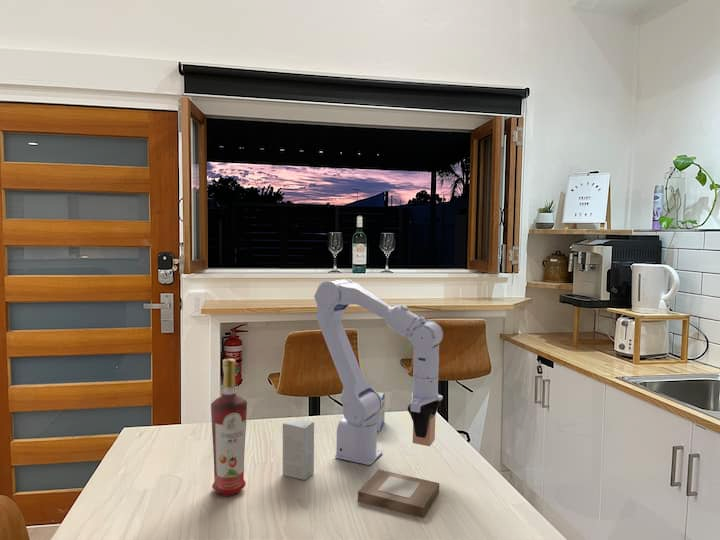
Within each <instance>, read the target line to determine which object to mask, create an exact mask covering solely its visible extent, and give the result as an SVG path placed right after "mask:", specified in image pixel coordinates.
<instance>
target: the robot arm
mask: <svg viewBox="0 0 720 540" xmlns="http://www.w3.org/2000/svg"><path fill="white" fill-rule="evenodd" d="M313 298H314V300H315V303H316V320H317V324H318V325H319V328H320V331H321V334H322V337H323V339H324V341H325V344H326V346H327V349H328V351H329V354H330V357H331V358H332V362H333V364H334V366H335V369H336V371H337V374H338V376H339V377H338V378H339V379H340V382H341V385H342V391H341V395H340V400H341V403H342V415H343V417H342V418H341V419H340V420H339V421H338V424H337V428H336V449H335V450H336V452H335V453H336V454H335V455H334V457H335V458H336V459H341V460H344V461H348V462H349V461H350V462H354V463H359V464H362V465H365V466H366V465H367V466H370V465H372V464H373V463H375V461H376V460H377V459H378V458H379V457H380V456H381V455H382V454H383V451H382V450H379V449H377V441H378V440H377V437H378V436H377V435H378V431H377V413H378V412H379V411H380V409H381V407H382V400H381V397H380V395H379V394H378V393H377V391H376V390H375V388H374V387H373V384H372V383H371V382H370V381H369V380H368V379H366V378H365V377H364V375H363V372H362V370H361V368H360V365H359V362H358V360H357V357H356V355H355V353H354V350H353V348H352V347H353V346H352V345H351V342H350V340H349V338H348V335H347V333H346V330H345V327H344V325H343V323H342V317H343V315H344V313H345V310H346V309H347V308H348V307H349V306H350V305H358V306H360V307H361V308H363V309H365V310H367V311H369V312H371V313H372V314H375V315H376V316H378V317H379V318H382V319H384V322H385V326H386V327H388V329H391V330H392V331H394V332H395V333H397V334H399V335H401V336H402V337H404V338H405V339H407V340H409V341H410V343H411V345H412V347H413V364H412V365H413V370H412V371H413V374H412V392H411V402H410V404H408V405H407V411H408V413H409V415H410V417H411V419H412V425H413V424H414V429H415V434H416V437H422V438H425V437H426V434H427V429H428V423H429V419H430V416H431V414H433V415H435V416H436V414H437V411H438V409H439V406H440V404H441V403H442V400H443V399H444V397H443V395H441V394H439V370H440V369H439V368H440V367H439V366H440V365H439V364H440V343H441V342H442V340H443V339H444V331H443V328H442V326H440V324H438V323H437V322H436V321H435V320H426V318H425V317H424V316H419V315H417V314H416V313H414V312H412V311H410V310H409V307H408V306H406V305H399V304H398V305H394V306H391V305H390V304H388V303H387V302H385V301H383V300H382V299H380V298H379V297H377V296H376V295H374V294H373V293H372V292H370V291H368V290H367V289H365V288H364V287H362V286H361V285H360V284H359V283H358V282H355V281H353V280H351V279H349V278H341V279H337V280H324V281H323V282H321V283H320V284H319V285H318V287H317V289H316V292H315V294H314V296H313Z"/></svg>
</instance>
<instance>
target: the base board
mask: <svg viewBox="0 0 720 540" xmlns="http://www.w3.org/2000/svg"><path fill="white" fill-rule="evenodd" d="M439 493H440V482H436V481H431V480H427V479H422V478H418V477H413V476H409V475H407V474H401V473H395V472H392V471H388V470H383V469H378V470H377V471H376V472H375V473H374V474H373V475H372V476H370V478H369V479H368V480H367V481H366V482H365V483H364V485H362V487H361V488H360V489H359V490H358V491H357V501H358V502H361V503H366V504H369V505H373V506H377V507H381V508H384V507H385V509H388V510H393V511H396V512H400V513H405V514H408V515H411V516H416V517H418V518H419V517H420V518H424V517H425V515H426V514H427V512H428V510H429V509H430V507H431V506H432V504H433V503H434V501H435V500H436V498H437V496H438V495H439Z"/></svg>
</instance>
